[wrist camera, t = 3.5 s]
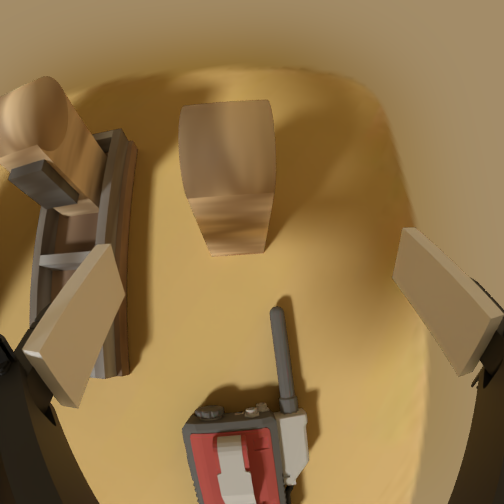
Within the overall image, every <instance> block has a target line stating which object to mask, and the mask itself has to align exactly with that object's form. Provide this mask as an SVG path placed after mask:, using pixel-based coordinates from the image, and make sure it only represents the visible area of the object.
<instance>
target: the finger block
mask: <svg viewBox="0 0 504 504" xmlns="http://www.w3.org/2000/svg"><path fill="white" fill-rule="evenodd" d="M179 159H180V168H181V175H182V181H183V186H184V190H185V194H186V197H187V200H188V202H189V204H190V207H191V209H192V212H193V214H194V216H195V219H196V221H197V223H198V226H199V228H200V231H201V233H202V235H203V238H204V240H205V242H206V245H207V247H208V249H209V251H210V254H211V256H228V255H243V254H258V253H264V248H265V243H266V237H267V232H268V226H269V221H270V215H271V210H272V204H273V198H274V193H275V184H276V145H275V132H274V122H273V115H272V110H271V106H270V103H269V101H268V100H248V101H230V102H216V103H205V104H195V105H186V106H183V107H182V109H181V113H180V119H179Z"/></svg>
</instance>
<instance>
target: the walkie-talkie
mask: <svg viewBox="0 0 504 504" xmlns="http://www.w3.org/2000/svg"><path fill="white" fill-rule="evenodd" d="M270 320H271V328H272V335H273V343H274V351H275V359H276V366H277V374H278V382H279V390H280V398H279V404H280V412H274V413H273V412H272V411H271V410H270V409H269V408H268V407H267V403H258V404H256V407H252V408H247V409H245V412H235V413H224V408H223V407H222V406H216V405H211V406H204V407H199V408H197V409H196V410H195V415H191V416H190V418H189V419H188V421H187V422H186V423H185V425H184V427H183V428H182V433H183V439H184V443H185V447H186V452H187V459H188V464H189V467H190V471H191V476H192V480H193V481H194V486H195V491H196V492H197V494H196V497H198V500H197V501H198V502H199V504H291V498H290V493H291V491H292V489H293V485H296V478H297V477H298V475H299V474H300V473H301V471H302V470H303V468H304V467H305V466H306V464H307V463H308V461H309V452H308V441H307V431H306V424H307V422H308V421H307V413H306V412H305V411H304V410H303V408H299V409H298V401H297V396H295V392H294V384H293V376H292V368H291V361H290V353H289V346H288V338H287V331H286V324H285V316H284V311H283V309H282V308H281V307H278V306H276V307H273V308H272V309H271V310H270ZM285 484H287V487H286V489H285V487H284V485H285Z"/></svg>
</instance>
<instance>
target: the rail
mask: <svg viewBox="0 0 504 504" xmlns="http://www.w3.org/2000/svg"><path fill="white" fill-rule="evenodd" d="M137 151H138V149H137V147H136V145H135V144H134V142H133V141H128V139H127V138H126V136H125V134H124V132H123V130H122V128H121V129H116V130H111V131H106V132H101V133H97V134H93V135H92V134H91V133H90V131H89V130H88V128H87V127H86V125H85V124H84V122H83V121H82V119H81V118H80V116H79V115H78V113H77V111H76V110H75V108H74V107H73V105H72V104H71V102H70V100H69V99H68V97H67V96H66V94H65V93H64V91H63V89H62V88H61V86H60V85H59V83H58V82H57V81H56V80H55V79H53V78H51V77H48V76H44V77H41V78H38V79H36V80H34V81H32V82H29V83H27V84H25V85H23V86H21V87H18V88H16V89H14V90H12V91H11V92H9V93H7V94H4V95H3V96H1V97H0V164H1V165H2V166H3V167H4V168H5V169H7V170H8V171H9V172H10V176H9V179H8V180H9V181H10V182H12V183H13V184H14V185H15V186H17V187H18V188H19V189H20V190H22V191H23V192H24V193H25V194H27V195H28V196H29V197H30V198H32V199H33V200H34V201H36V202H37V203H38V204H40V205H41V210H40V215H39V221H38V227H37V233H36V240H35V248H34V256H33V265H32V277H31V291H30V326H31V324H32V323H33V322H35V321H34V320H35V318H36V317H37V315H38V314H39V313H40V311H41V310H42V309H44V308H45V307H46V306H47V305H48V304H49V303H52V302H53V301H54V299H55V298H56V297H57V295H58V294H59V292H60V291H61V290H62V288H63V287H64V285H65V284H66V283H67V281H68V280H69V279H70V277H71V276H72V275H73V273H74V272H75V271H76V270H77V268H78V267H79V266H80V264H81V263H82V262H83V261H84V259H85V258H86V257H87V256H88V254H89V253H90V252H91V251H92V249H93V248H94V247H95V246H96V245H99V244H111V247H112V250H113V254H114V258H115V261H116V265H117V269H118V272H119V275H120V279H121V282H122V285H123V289H124V292H125V296H124V299H123V301H122V303H121V305H120V307H119V309H118V311H117V314H116V316H115V318H114V320H113V322H112V325H111V327H110V329H109V332H108V334H107V336H106V338H105V341H104V343H103V346H102V348H101V350H100V353H99V355H98V358H97V360H96V363H95V365H94V368H93V370H92V373H91V375H90V377H91V378H101V379H106V378H111V377H115V376H125V375H129V374H130V371H129V356H128V337H127V257H128V237H129V222H130V210H131V199H132V190H133V181H134V173H135V165H136V158H137Z"/></svg>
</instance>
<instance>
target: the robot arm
mask: <svg viewBox="0 0 504 504" xmlns="http://www.w3.org/2000/svg"><path fill="white" fill-rule="evenodd" d="M392 279H393V280H394V282H395V283H396V284H397V286H398V287H399V288H400V290H401V291H402V292H403V294H404V295H405V297H406V298H407V299H408V301H409V302H410V304H411V305H412V306H413V308H414V309H415V311H416V312H417V314H418V315H419V316H420V318H421V319H422V321H423V322H424V324H425V325H426V327H427V328H428V330H429V331H430V333H431V334H432V336H433V337H434V338H435V340H436V342H437V343H438V345H439V346H440V348H441V349H442V351H443V353H444V354H445V356H446V357H447V359H448V361H449V362H450V364H451V365H452V367H453V369H454V370H455V372H456V374H457V375H458V377H460V376H463V375H465V374H468V373H470V372H473V370H474V368H475V367H476V365H477V364H478V362H479V360H480V361H481V363H482V364H483V367H482V369H481V370H480V372H479V373H478V375H477V376H476V378H475V379H474V381H473V382H472V385H471V387H473V386H474V385H475V384H476V382H477V381H479V382H478V386H477V396H476V403H475V409H474V414H473V419H472V424H471V430H470V433H469V438H468V442H467V446H466V450H465V454H464V457H463V461H462V464H461V467H460V471H459V474H458V477H457V480H456V483H455V486H454V489H453V492H452V494H451V497H450V500H449V502H448V504H504V310H503V309H502V307H501V306H500V305H499V304H498V303H497V302H496V301H495V300H494V299H493V298H492V297H490V294H489V293H488V292H487V291H485V289H484V288H483V287H482V286H481V285H480V284H479V283H478V282H477V281H475V280H474V279H472V278H470V277H469V276H468V275H467V274H466V273H464V271H463V270H462V269H461V268H459V266H457V264H456V263H454V262H453V261H452V260H451V259H450V258H449V257H448V256H447V255H446V254H445V253H444V252H443V251H442V250H441V249H439V248H438V247H437V246H436V245H435V244H434V243H433V242H432V241H431V240H429V239H428V238H427V237H426V236H425V235H424V234H423V233H421V232H420V231H419V230H418V229H417V228H416V227H409V228H402V232H401V238H400V243H399V248H398V253H397V258H396V262H395V267H394V271H393V276H392ZM124 296H125V292H124V289H123V285H122V282H121V279H120V275H119V272H118V269H117V265H116V261H115V258H114V254H113V250H112V247H111V244H99V245H96V246H95V247H94V248H93V249H92V251H91V252H90V253H89V254H88V256H87V257H86V258H85V259H84V261H83V262H82V263H81V264H80V266H79V267H78V268H77V270H76V271H75V272H74V273H73V275H72V276H71V277H70V279H69V280H68V281H67V283H66V284H65V285H64V287H63V288H62V290H61V291H60V292H59V294H58V295H57V297H56V298H55V299H54V301H53V302H52V303H49V304H48V305H47V306H46V307H45V308H44V309H42V310H41V311H40V313H39V314H38V315H37V317H36V318H35V320H34V321H35V322H33V323H32V324H31V326H30V329H28V330H27V332H26V333H25V335H24V337H23V338H22V340H21V341H20V343H19V345H18V346H17V348H16V349H15V351H14V352H13V350H12V349H11V347H10V345H9V344H8V342H7V340H6V339H5V337H4V336H3V335H1V334H0V504H99V502H98V501H97V499H96V497H95V495H94V494H93V492H92V490H91V488H90V487H89V485H88V483H87V481H86V479H85V477H84V475H83V473H82V472H81V470H80V468H79V466H78V463H77V461H76V459H75V457H74V455H73V453H72V451H71V449H70V446H69V444H68V442H67V439H66V437H65V435H64V432H63V430H62V427H61V425H60V422H59V420H58V417H57V414H56V411H55V409H54V407H53V406H52V404H51V403H50V402H51V399H52V397H53V396H54V397H55V398H56V399H57V401H58V402H59V403H60V404H61V405H63V406H68V407H73V408H79V405H80V402H81V399H82V397H83V394H84V391H85V388H86V386H87V383H88V380H89V378H90V375H91V373H92V370H93V368H94V365H95V363H96V360H97V358H98V355H99V353H100V350H101V348H102V346H103V343H104V341H105V338H106V336H107V334H108V332H109V329H110V327H111V325H112V322H113V320H114V318H115V316H116V314H117V311H118V309H119V307H120V305H121V303H122V301H123V299H124Z"/></svg>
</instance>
